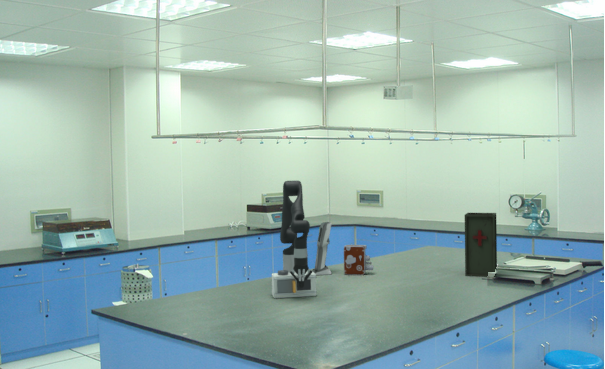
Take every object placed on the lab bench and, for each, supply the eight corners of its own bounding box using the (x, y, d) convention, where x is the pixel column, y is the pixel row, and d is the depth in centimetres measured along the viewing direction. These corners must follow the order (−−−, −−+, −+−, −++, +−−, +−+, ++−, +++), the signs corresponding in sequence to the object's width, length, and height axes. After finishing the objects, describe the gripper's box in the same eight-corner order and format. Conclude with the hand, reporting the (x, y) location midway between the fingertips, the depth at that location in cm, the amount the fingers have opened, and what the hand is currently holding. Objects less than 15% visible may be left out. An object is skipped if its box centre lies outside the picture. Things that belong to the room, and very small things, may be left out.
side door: (277, 292, 311) (277, 280, 311) (295, 291, 313) (294, 279, 313) (278, 294, 307) (278, 281, 306) (296, 293, 308) (296, 280, 308)
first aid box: (465, 275, 365) (464, 214, 364) (468, 271, 382) (467, 212, 381) (495, 277, 358) (494, 215, 357) (497, 272, 375) (496, 212, 374)
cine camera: (372, 275, 372) (372, 245, 371) (343, 275, 376) (343, 245, 375) (373, 273, 381) (373, 244, 380) (345, 272, 385) (344, 243, 384)
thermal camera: (333, 274, 378) (332, 223, 378) (314, 275, 376) (313, 223, 376) (329, 271, 390) (328, 221, 389) (311, 272, 388) (310, 222, 387)
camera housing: (272, 294, 321) (271, 270, 321) (313, 292, 325) (312, 268, 325) (274, 298, 310) (273, 273, 310) (316, 296, 314) (316, 271, 314)
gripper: (311, 254, 314) (312, 285, 314) (288, 255, 312) (288, 286, 312) (313, 256, 306) (314, 288, 307) (289, 257, 304) (290, 289, 305)
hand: (301, 287), depth 309 cm, fingers closed
